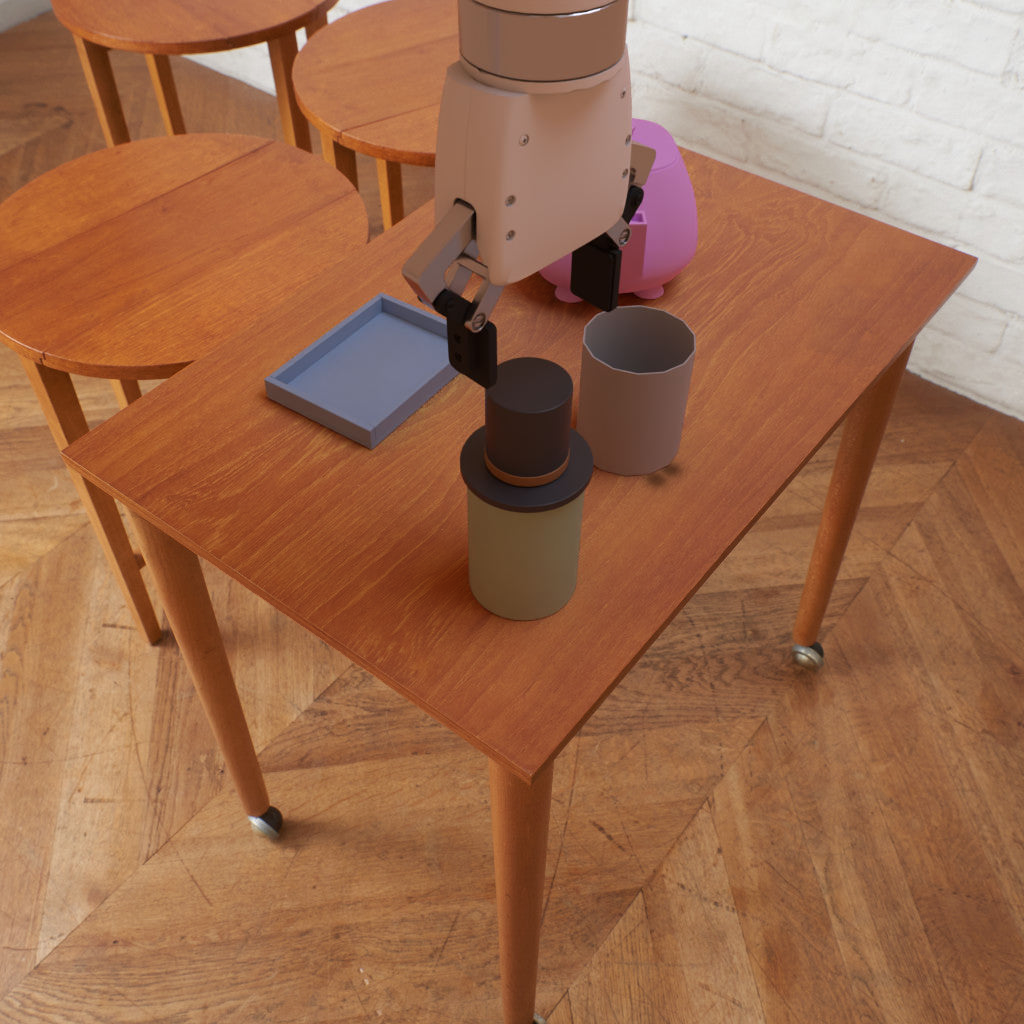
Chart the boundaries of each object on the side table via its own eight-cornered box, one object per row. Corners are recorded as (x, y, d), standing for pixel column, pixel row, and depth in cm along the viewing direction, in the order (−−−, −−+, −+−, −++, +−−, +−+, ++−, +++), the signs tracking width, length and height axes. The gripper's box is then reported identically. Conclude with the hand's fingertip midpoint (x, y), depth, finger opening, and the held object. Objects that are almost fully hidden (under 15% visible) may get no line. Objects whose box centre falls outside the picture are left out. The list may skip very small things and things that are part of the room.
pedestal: (483, 630, 71) (482, 518, 63) (458, 549, 76) (454, 436, 68) (590, 608, 72) (602, 496, 64) (558, 530, 77) (566, 417, 69)
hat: (477, 524, 63) (476, 442, 58) (446, 433, 68) (443, 351, 63) (611, 499, 64) (620, 418, 59) (570, 412, 70) (576, 331, 65)
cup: (649, 490, 80) (664, 388, 73) (556, 451, 83) (562, 349, 76) (695, 428, 85) (714, 327, 78) (606, 393, 88) (616, 293, 81)
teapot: (495, 351, 92) (496, 195, 81) (479, 229, 106) (477, 82, 95) (715, 340, 94) (744, 186, 83) (670, 222, 107) (690, 76, 97)
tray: (371, 450, 83) (369, 431, 82) (267, 397, 87) (263, 379, 86) (482, 353, 92) (482, 334, 90) (382, 310, 96) (380, 291, 95)
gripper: (607, -45, 53) (588, 251, 65) (336, 58, 44) (374, 375, 57) (728, -4, 49) (683, 301, 62) (457, 116, 41) (469, 442, 53)
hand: (535, 336), depth 59 cm, fingers open, 9 cm apart
